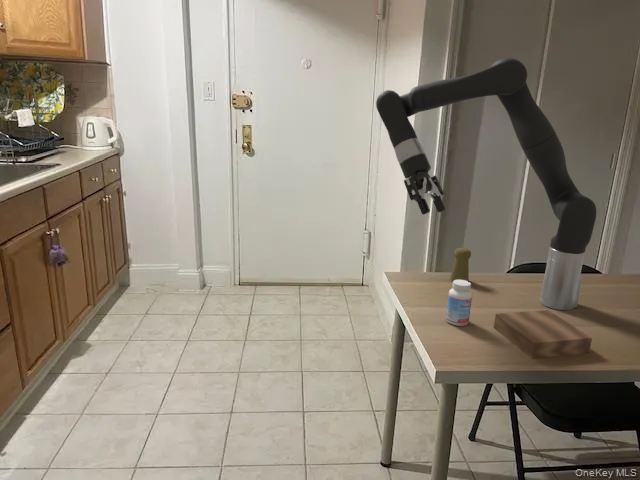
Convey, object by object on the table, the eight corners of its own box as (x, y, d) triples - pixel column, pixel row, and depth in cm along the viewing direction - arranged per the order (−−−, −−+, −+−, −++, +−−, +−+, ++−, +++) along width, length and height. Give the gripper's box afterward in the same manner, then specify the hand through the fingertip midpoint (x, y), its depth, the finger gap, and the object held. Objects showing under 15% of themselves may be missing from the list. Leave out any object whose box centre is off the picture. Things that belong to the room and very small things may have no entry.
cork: (469, 285, 163) (473, 252, 160) (449, 282, 164) (454, 250, 161) (467, 278, 169) (472, 246, 166) (449, 276, 170) (453, 245, 167)
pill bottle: (461, 328, 133) (467, 288, 129) (441, 321, 137) (445, 282, 133) (472, 321, 137) (478, 283, 134) (452, 314, 141) (457, 276, 138)
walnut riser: (545, 323, 138) (548, 309, 137) (589, 352, 123) (592, 337, 122) (493, 327, 134) (495, 313, 133) (531, 358, 119) (534, 343, 118)
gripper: (409, 151, 133) (432, 208, 130) (435, 152, 144) (458, 205, 141) (387, 165, 138) (409, 219, 135) (414, 164, 149) (436, 215, 146)
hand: (434, 212), depth 138 cm, fingers open, 8 cm apart
